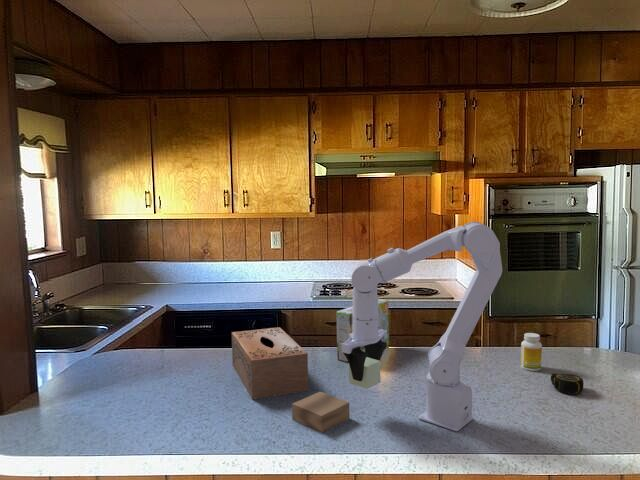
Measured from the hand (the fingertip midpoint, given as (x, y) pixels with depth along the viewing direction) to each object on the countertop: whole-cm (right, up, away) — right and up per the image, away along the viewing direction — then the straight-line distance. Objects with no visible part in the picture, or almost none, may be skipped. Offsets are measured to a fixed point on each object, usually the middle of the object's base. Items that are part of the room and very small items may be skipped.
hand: (365, 376), depth 115 cm
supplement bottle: (+49, -5, +28) cm, 57 cm away
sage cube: (0, -2, 0) cm, 2 cm away
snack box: (+3, -4, +43) cm, 43 cm away
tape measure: (+52, -7, +13) cm, 54 cm away
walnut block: (-10, -9, -2) cm, 14 cm away
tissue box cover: (-24, -7, +24) cm, 35 cm away
